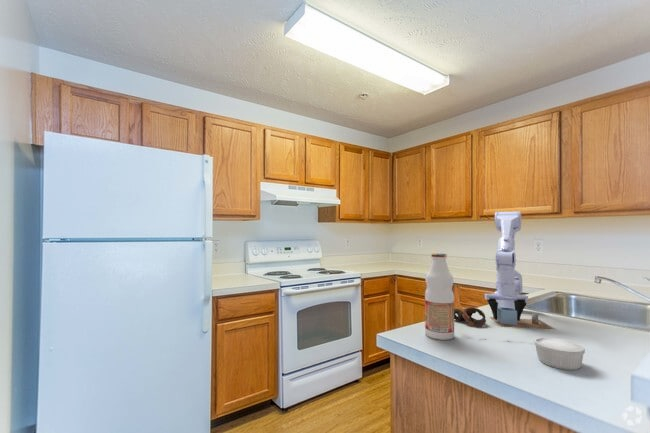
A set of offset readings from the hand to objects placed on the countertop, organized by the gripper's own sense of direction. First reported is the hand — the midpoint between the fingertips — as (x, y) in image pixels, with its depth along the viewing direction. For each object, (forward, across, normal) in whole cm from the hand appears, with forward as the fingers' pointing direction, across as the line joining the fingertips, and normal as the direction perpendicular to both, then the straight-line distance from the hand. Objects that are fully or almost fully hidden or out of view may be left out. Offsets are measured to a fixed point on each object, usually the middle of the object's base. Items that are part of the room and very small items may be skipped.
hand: (506, 319), depth 120 cm
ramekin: (+3, +1, -32) cm, 33 cm away
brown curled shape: (+3, -14, -3) cm, 15 cm away
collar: (+1, 0, 0) cm, 1 cm away
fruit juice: (+3, -27, -16) cm, 31 cm away
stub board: (+2, +5, 0) cm, 6 cm away
